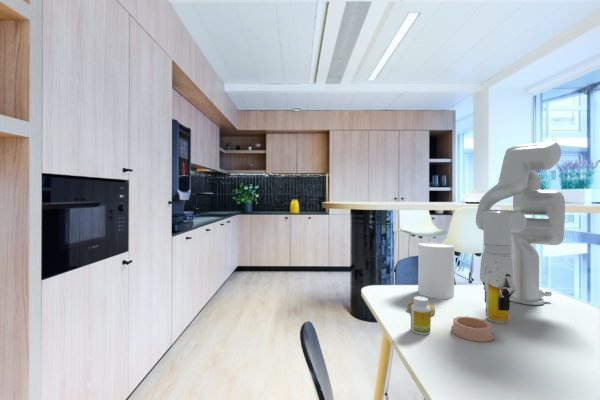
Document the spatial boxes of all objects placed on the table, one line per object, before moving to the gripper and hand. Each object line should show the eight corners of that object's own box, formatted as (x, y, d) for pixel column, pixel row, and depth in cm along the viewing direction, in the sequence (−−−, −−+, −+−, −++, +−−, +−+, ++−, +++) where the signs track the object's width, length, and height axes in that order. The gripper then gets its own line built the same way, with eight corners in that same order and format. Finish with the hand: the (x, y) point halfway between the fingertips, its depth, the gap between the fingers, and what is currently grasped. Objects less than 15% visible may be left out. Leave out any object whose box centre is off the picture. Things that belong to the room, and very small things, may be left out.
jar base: (478, 326, 95) (479, 315, 95) (502, 342, 84) (502, 330, 84) (444, 326, 95) (444, 315, 95) (464, 342, 84) (464, 330, 84)
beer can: (511, 324, 96) (512, 275, 96) (489, 323, 98) (490, 274, 98) (503, 317, 102) (503, 271, 102) (482, 316, 104) (483, 270, 104)
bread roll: (415, 317, 102) (415, 305, 102) (405, 308, 111) (405, 296, 111) (440, 317, 103) (440, 305, 103) (428, 308, 112) (428, 296, 112)
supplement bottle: (407, 328, 93) (407, 296, 93) (422, 326, 94) (422, 294, 94) (418, 336, 88) (418, 301, 88) (434, 334, 89) (434, 300, 89)
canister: (443, 288, 136) (443, 242, 136) (461, 298, 122) (461, 247, 123) (412, 289, 135) (413, 242, 135) (427, 298, 122) (427, 247, 122)
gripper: (469, 245, 109) (469, 298, 109) (504, 254, 91) (503, 316, 91) (491, 245, 109) (490, 298, 109) (529, 254, 92) (528, 316, 92)
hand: (496, 305), depth 100 cm, fingers closed on beer can, 6 cm apart
